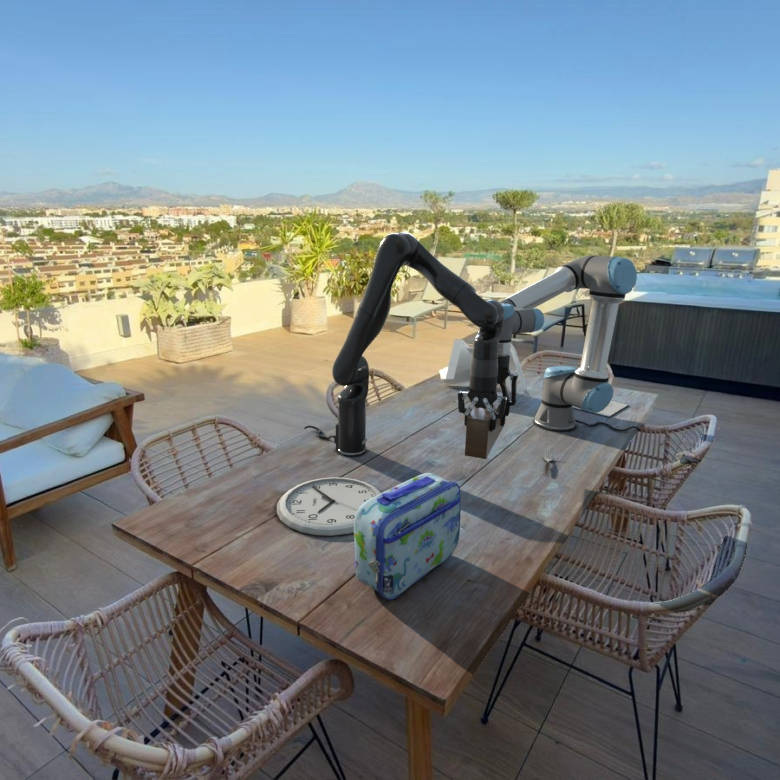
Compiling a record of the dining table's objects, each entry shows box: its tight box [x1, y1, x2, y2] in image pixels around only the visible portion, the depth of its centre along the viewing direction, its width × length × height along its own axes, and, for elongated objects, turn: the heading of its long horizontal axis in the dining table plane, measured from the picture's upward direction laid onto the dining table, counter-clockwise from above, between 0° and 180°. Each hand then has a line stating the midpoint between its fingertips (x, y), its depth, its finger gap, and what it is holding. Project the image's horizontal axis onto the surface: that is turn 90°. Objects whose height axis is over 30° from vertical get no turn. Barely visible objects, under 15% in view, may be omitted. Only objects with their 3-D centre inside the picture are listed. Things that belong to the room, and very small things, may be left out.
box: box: [464, 391, 505, 460], centre depth 160 cm, size 28×6×12 cm, turn 158°
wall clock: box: [276, 476, 383, 537], centre depth 142 cm, size 30×2×30 cm
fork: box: [544, 449, 554, 474], centre depth 169 cm, size 3×16×2 cm, turn 160°
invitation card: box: [573, 400, 629, 418], centre depth 226 cm, size 21×1×15 cm
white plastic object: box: [438, 338, 531, 399], centre depth 245 cm, size 37×45×31 cm
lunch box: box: [353, 472, 462, 600], centre depth 112 cm, size 26×11×21 cm, turn 134°
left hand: (479, 428), depth 151 cm, fingers closed on box, 6 cm apart
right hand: (492, 423), depth 170 cm, fingers closed on box, 6 cm apart
